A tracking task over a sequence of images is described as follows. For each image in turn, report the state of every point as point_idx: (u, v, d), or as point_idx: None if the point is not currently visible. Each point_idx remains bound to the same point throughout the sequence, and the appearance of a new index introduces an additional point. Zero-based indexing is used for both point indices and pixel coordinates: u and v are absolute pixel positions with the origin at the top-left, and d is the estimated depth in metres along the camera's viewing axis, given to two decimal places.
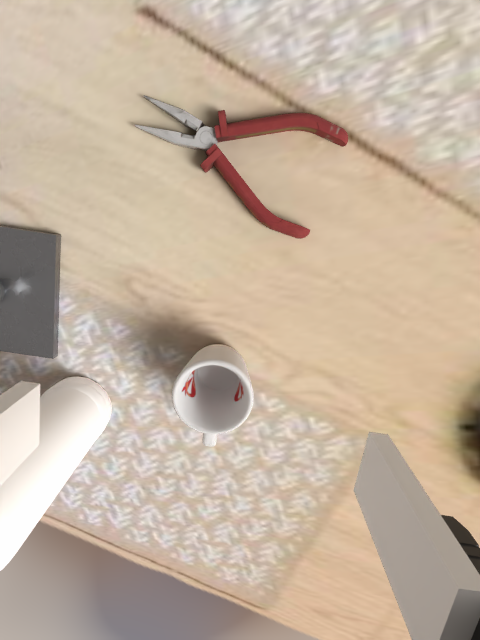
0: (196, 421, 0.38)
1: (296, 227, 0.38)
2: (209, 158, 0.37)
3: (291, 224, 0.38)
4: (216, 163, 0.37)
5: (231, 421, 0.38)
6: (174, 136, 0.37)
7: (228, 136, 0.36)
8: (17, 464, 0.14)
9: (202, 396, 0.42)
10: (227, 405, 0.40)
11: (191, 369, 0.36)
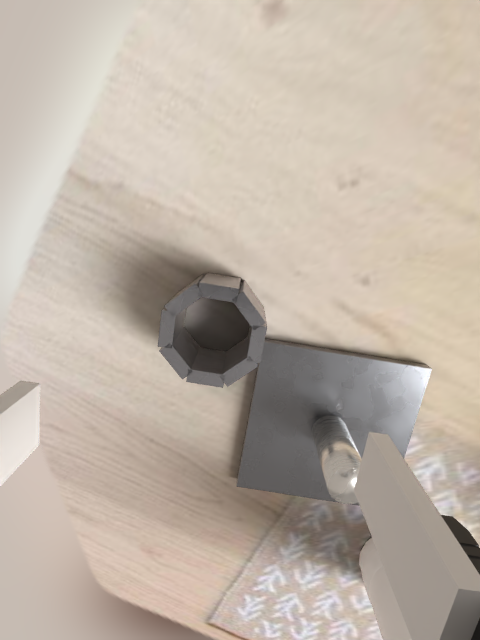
0: None
1: None
2: None
3: None
4: None
5: None
6: None
7: None
8: (17, 464, 0.14)
9: None
10: None
11: None
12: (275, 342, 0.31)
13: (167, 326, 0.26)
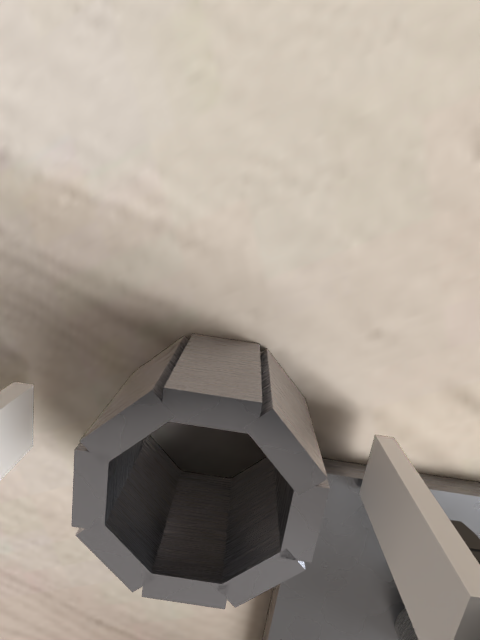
0: None
1: None
2: None
3: None
4: None
5: None
6: None
7: None
8: (10, 466, 0.14)
9: None
10: None
11: None
12: (328, 468, 0.16)
13: (90, 485, 0.11)
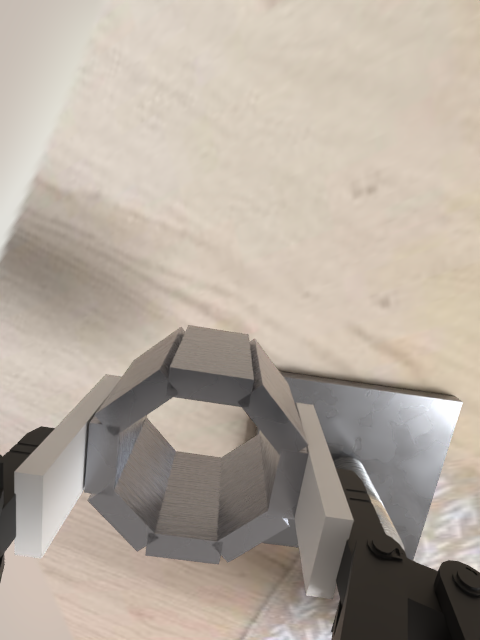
0: None
1: None
2: None
3: None
4: None
5: None
6: None
7: None
8: None
9: None
10: None
11: None
12: None
13: (102, 454, 0.13)
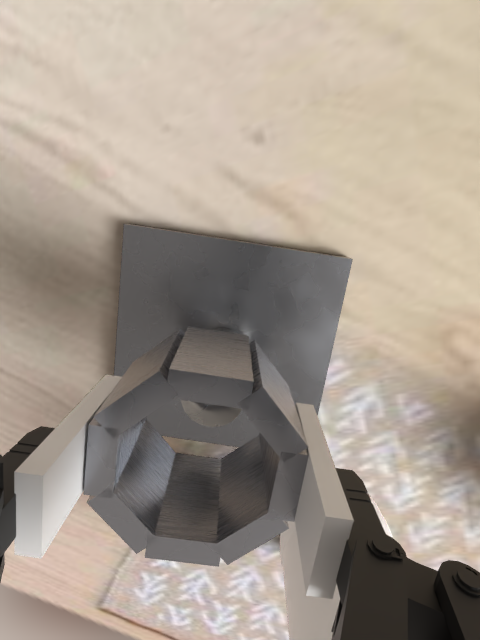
0: None
1: None
2: None
3: None
4: None
5: None
6: None
7: None
8: None
9: None
10: None
11: None
12: (141, 226, 0.23)
13: (101, 456, 0.13)
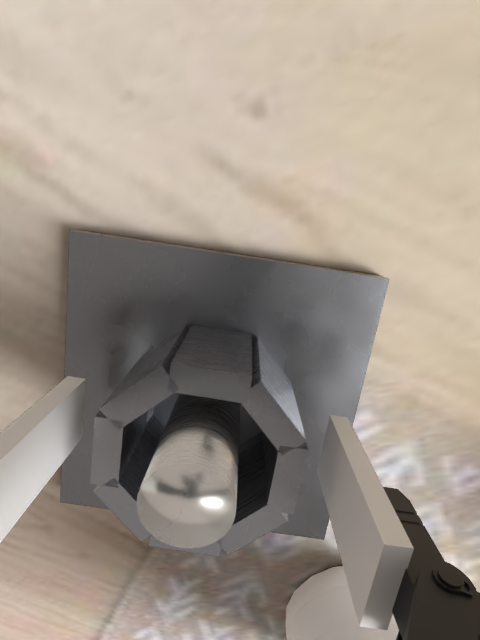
0: None
1: None
2: None
3: None
4: None
5: None
6: None
7: None
8: (66, 454, 0.15)
9: None
10: None
11: None
12: (95, 233, 0.17)
13: (107, 447, 0.13)
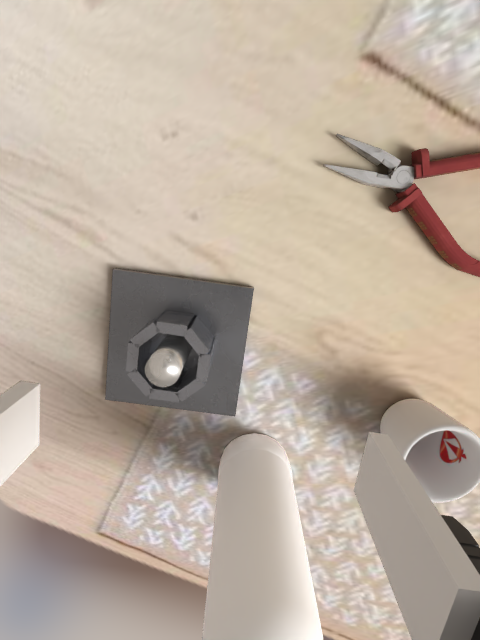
0: None
1: None
2: (407, 199, 0.34)
3: None
4: (412, 203, 0.35)
5: (456, 488, 0.35)
6: (368, 176, 0.34)
7: (428, 175, 0.34)
8: (17, 464, 0.14)
9: None
10: (436, 466, 0.38)
11: (425, 435, 0.33)
12: (124, 270, 0.38)
13: (132, 355, 0.34)
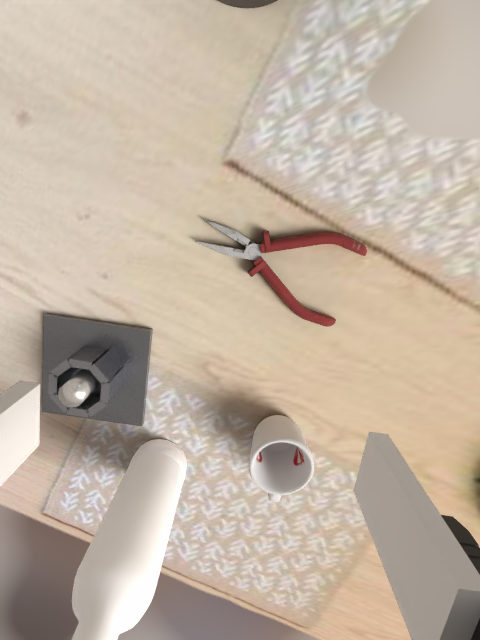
0: (266, 484, 0.47)
1: (325, 320, 0.47)
2: (256, 268, 0.46)
3: (321, 317, 0.47)
4: (261, 271, 0.46)
5: (295, 484, 0.47)
6: (227, 251, 0.46)
7: None
8: (17, 464, 0.14)
9: (266, 458, 0.51)
10: (288, 468, 0.50)
11: (266, 445, 0.45)
12: (52, 315, 0.49)
13: (52, 383, 0.46)
